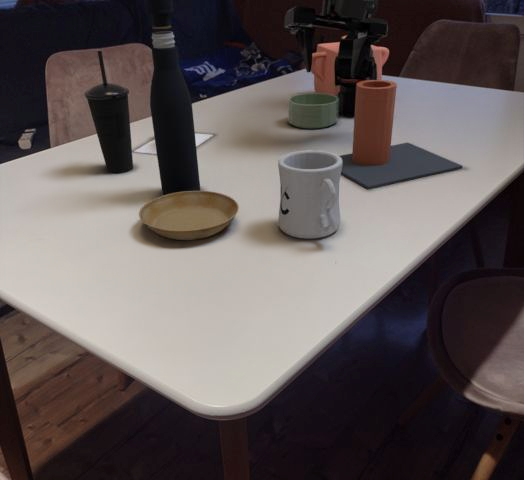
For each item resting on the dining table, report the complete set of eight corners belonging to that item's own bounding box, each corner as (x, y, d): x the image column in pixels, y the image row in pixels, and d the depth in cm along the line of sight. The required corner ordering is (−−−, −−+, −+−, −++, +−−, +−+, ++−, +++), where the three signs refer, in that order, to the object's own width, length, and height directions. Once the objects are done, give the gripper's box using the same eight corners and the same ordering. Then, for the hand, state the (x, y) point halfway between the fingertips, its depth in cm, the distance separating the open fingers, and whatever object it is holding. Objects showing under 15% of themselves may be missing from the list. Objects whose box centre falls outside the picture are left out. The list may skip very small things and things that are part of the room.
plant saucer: (259, 223, 88) (259, 207, 86) (182, 257, 80) (180, 239, 78) (197, 199, 97) (196, 183, 95) (122, 226, 88) (119, 210, 87)
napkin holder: (182, 156, 115) (179, 126, 111) (132, 151, 118) (127, 122, 115) (214, 134, 126) (212, 106, 122) (167, 131, 129) (164, 103, 126)
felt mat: (407, 144, 116) (407, 142, 116) (462, 168, 104) (462, 165, 104) (319, 162, 109) (319, 159, 109) (367, 189, 98) (368, 186, 97)
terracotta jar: (361, 151, 112) (366, 78, 104) (394, 156, 109) (402, 81, 101) (345, 162, 107) (349, 86, 100) (380, 167, 104) (387, 90, 97)
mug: (269, 221, 88) (267, 154, 83) (323, 210, 91) (325, 145, 85) (302, 255, 79) (302, 183, 73) (361, 243, 81) (367, 172, 76)
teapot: (295, 95, 152) (295, 35, 144) (372, 87, 157) (376, 28, 148) (324, 114, 136) (326, 48, 128) (408, 104, 141) (416, 39, 133)
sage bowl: (321, 113, 137) (322, 90, 134) (346, 124, 129) (348, 100, 126) (279, 120, 133) (279, 97, 130) (302, 132, 125) (303, 107, 122)
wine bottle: (194, 201, 96) (171, -13, 78) (157, 200, 97) (126, -13, 79) (205, 187, 101) (185, -18, 83) (169, 186, 102) (143, -17, 84)
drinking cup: (145, 161, 113) (127, 46, 101) (134, 175, 107) (114, 54, 95) (107, 161, 113) (85, 47, 102) (94, 175, 107) (69, 55, 96)
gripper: (309, -40, 96) (300, 65, 101) (409, -22, 101) (395, 77, 106) (287, -24, 106) (279, 70, 111) (379, -8, 111) (368, 81, 116)
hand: (331, 75), depth 111 cm, fingers open, 9 cm apart
